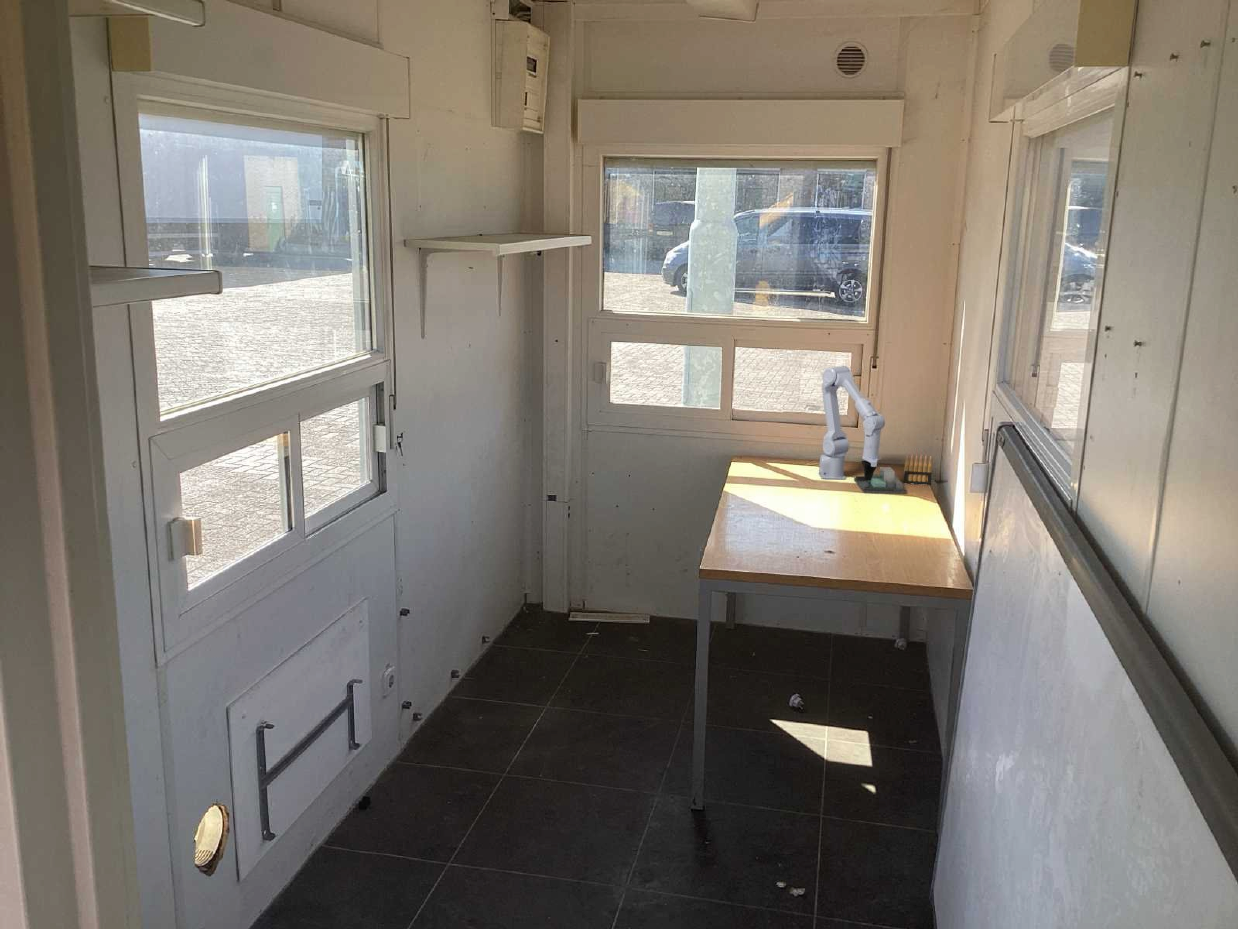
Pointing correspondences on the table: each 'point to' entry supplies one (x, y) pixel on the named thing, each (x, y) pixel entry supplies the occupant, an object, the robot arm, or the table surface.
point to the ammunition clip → (917, 470)
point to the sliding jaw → (877, 481)
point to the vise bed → (868, 487)
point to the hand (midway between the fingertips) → (867, 479)
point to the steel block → (887, 476)
